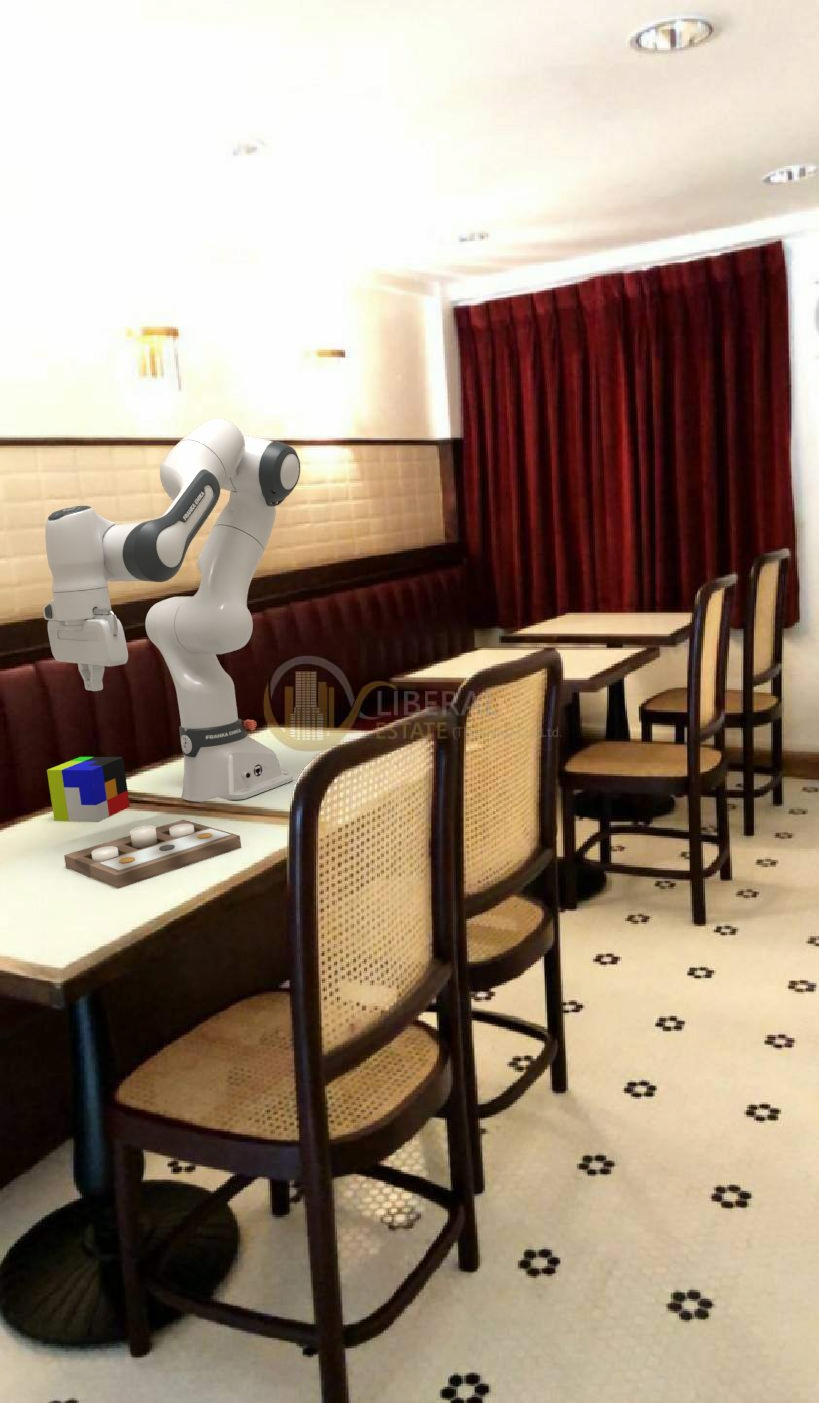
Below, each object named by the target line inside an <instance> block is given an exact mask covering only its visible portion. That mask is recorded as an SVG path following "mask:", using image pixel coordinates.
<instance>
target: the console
mask: <svg viewBox="0 0 819 1403" xmlns="http://www.w3.org/2000/svg"><path fill="white" fill-rule="evenodd" d="M179 824H193V825H194V833H191V834H187V835H184V836H181V837H178V838H176V837H173V836H170V831H169V828H170V827H172V826H175V825H179ZM155 828H156V835H157V844H155V845H152V846H149V847H145V848H134V847H132V841H131V834H130V835H127V836H123V837H121V838H120V837H119V838H116V839H113V840H110V841H107V842H104V843H100V844H96V845H94V846H90V847H87V848H84V849H80V850H78V851H73V852H69V853H68V854H64V858H63V859H64V863H65V868H66V869H69V870H70V871H74V872H77V873H79V874H81V875H84V876H87V877H89V878H91V879H93V880H96V881H99V882H101V883H104V884H107V885H108V886H111V887H113V888H116V889H121V888H124V887H127V886H130V885H134V884H136V883H139V882H143V881H145V880H148V879H151V878H154V877H157V876H160V875H163V874H166V873H170V872H173V871H175V870H178V869H182V868H185V867H188V866H190V865H193V864H196V863H199V862H203V861H207V860H209V859H211V858H215V857H217V856H221V855H223V854H224V855H225V854H226V853H230V852H232V851H235V850H238V849H241V848H242V842H241V841H242V840H241V835H240V834H235V833H232V832H228V831H225V830H221V829H218V828H214V827H212V826H208V825H203V824H201V823H197V822H194V821H189V820H187V819H181V820H177V821H174V822H171V823H168V824H164V825H160V826H157V827H155ZM108 846H114V847H117V848H118V855H119V856H116V857H113V858H110V859H107V860H103V861H100V862H97V861H94V860H92V853H91V852H92V851H93V850H95V849H98V848H101V847H108Z"/></svg>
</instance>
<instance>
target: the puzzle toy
mask: <svg viewBox="0 0 819 1403" xmlns="http://www.w3.org/2000/svg"><path fill="white" fill-rule="evenodd" d="M46 773H47V780H48V787H49V793H50V801H51V806H52V807H51V808H52V812H53V813H52V815H53V820H54V822H74V823H75V822H77V823H78V822H79V823H81V822H84V823H100V822H102V821H105V819H106V820H107V819H108V818H110V817H112V816H114V815H116V814H118V813H120V812H122V811H124V810H126V809H128V808H130V806H131V804H130V799H129V791H128V784H127V776H126V769H125V761H124V757H123V756H79V757H77V758H74V759H71V760H69V761H65V762H64V763H61V764H59V765H56V766H54V767H51V768H48V769H46Z"/></svg>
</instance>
